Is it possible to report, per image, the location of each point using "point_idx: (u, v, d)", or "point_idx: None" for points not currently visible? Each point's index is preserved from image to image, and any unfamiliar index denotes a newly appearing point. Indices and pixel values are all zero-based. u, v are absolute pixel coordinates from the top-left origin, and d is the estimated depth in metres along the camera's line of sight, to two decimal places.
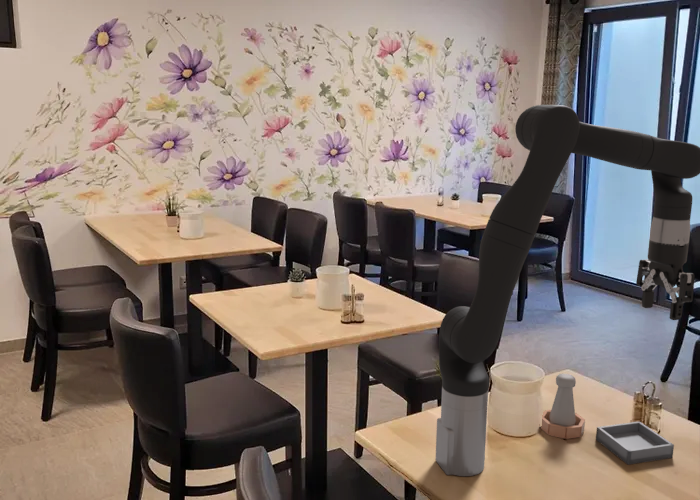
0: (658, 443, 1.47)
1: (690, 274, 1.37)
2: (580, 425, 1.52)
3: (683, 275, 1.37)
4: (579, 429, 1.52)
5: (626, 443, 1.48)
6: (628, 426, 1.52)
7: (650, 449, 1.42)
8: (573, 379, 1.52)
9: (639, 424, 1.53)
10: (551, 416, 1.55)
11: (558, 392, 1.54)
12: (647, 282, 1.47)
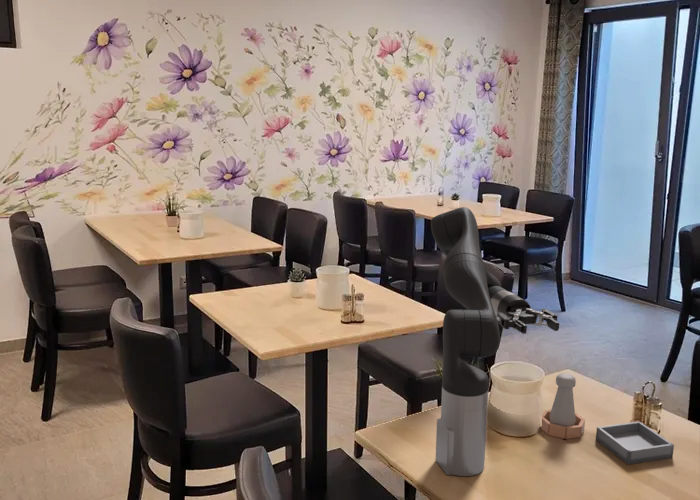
0: (658, 443, 1.47)
1: None
2: (580, 425, 1.52)
3: (544, 309, 1.74)
4: (579, 429, 1.52)
5: (626, 443, 1.48)
6: (628, 426, 1.52)
7: (650, 449, 1.42)
8: (573, 379, 1.52)
9: (639, 424, 1.53)
10: (551, 416, 1.55)
11: (558, 392, 1.54)
12: (518, 314, 1.68)
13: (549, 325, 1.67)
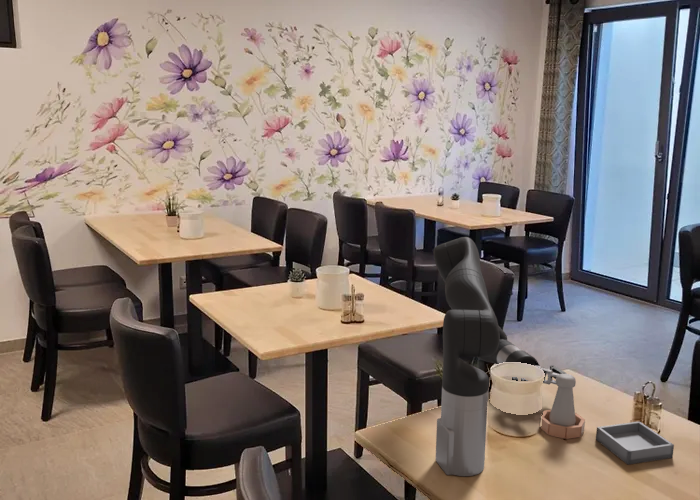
0: (658, 443, 1.47)
1: None
2: (580, 425, 1.52)
3: (552, 365, 1.71)
4: (579, 429, 1.52)
5: (626, 443, 1.48)
6: (628, 426, 1.52)
7: (650, 449, 1.42)
8: (573, 379, 1.52)
9: (639, 424, 1.53)
10: (551, 416, 1.55)
11: (558, 392, 1.54)
12: None
13: None
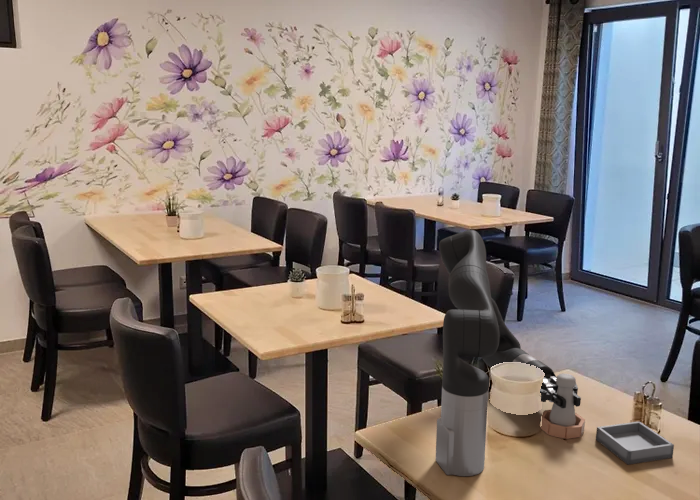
0: (658, 443, 1.47)
1: None
2: (580, 425, 1.52)
3: None
4: (579, 429, 1.52)
5: (626, 443, 1.48)
6: (628, 426, 1.52)
7: (650, 449, 1.42)
8: (573, 379, 1.52)
9: (639, 424, 1.53)
10: (551, 416, 1.55)
11: (558, 392, 1.54)
12: (550, 385, 1.57)
13: None
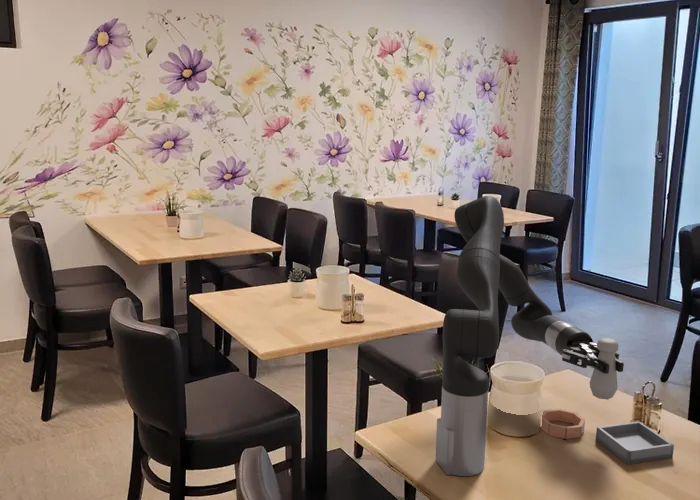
0: (658, 443, 1.47)
1: None
2: (580, 425, 1.52)
3: None
4: (579, 429, 1.52)
5: (626, 443, 1.48)
6: (628, 426, 1.52)
7: (650, 449, 1.42)
8: (616, 343, 1.46)
9: (639, 424, 1.53)
10: (592, 382, 1.49)
11: (600, 357, 1.47)
12: (590, 350, 1.51)
13: None
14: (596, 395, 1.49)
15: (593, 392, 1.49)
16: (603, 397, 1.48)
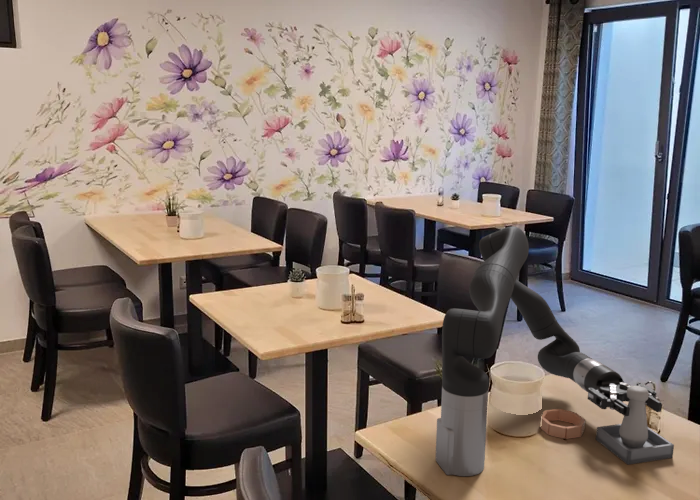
0: (658, 443, 1.47)
1: None
2: (580, 425, 1.52)
3: (639, 382, 1.54)
4: (579, 429, 1.52)
5: None
6: None
7: (650, 449, 1.42)
8: (646, 392, 1.43)
9: None
10: (622, 431, 1.46)
11: (630, 405, 1.45)
12: (614, 391, 1.48)
13: (649, 404, 1.47)
14: (626, 444, 1.46)
15: (623, 440, 1.47)
16: (633, 446, 1.45)
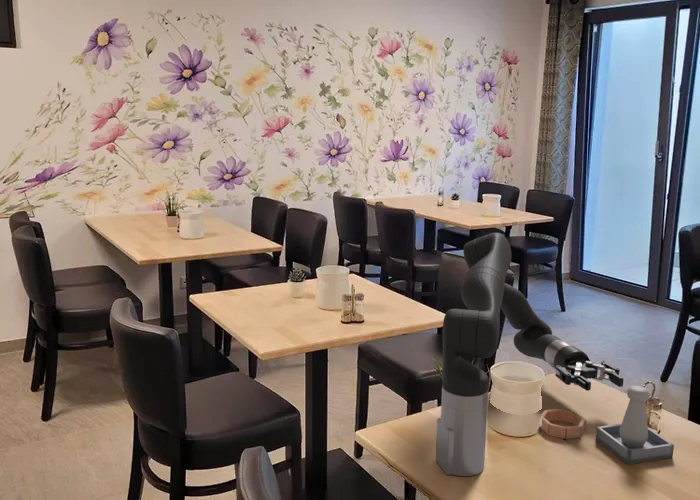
0: (658, 443, 1.47)
1: None
2: (580, 425, 1.52)
3: (603, 361, 1.67)
4: (579, 429, 1.52)
5: None
6: None
7: (650, 449, 1.42)
8: (647, 392, 1.43)
9: None
10: (622, 431, 1.46)
11: (630, 405, 1.45)
12: (579, 369, 1.60)
13: (612, 380, 1.60)
14: (626, 444, 1.46)
15: (623, 440, 1.47)
16: (633, 446, 1.45)
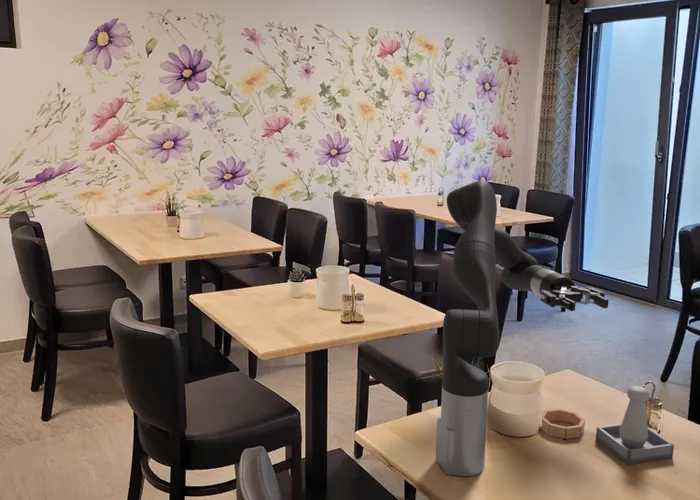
0: (658, 443, 1.47)
1: None
2: (580, 425, 1.52)
3: (589, 287, 1.66)
4: (579, 429, 1.52)
5: None
6: None
7: (650, 449, 1.42)
8: (647, 392, 1.43)
9: None
10: (622, 431, 1.46)
11: (630, 405, 1.45)
12: (564, 292, 1.60)
13: (597, 303, 1.59)
14: (626, 444, 1.46)
15: (623, 440, 1.47)
16: (633, 446, 1.45)
